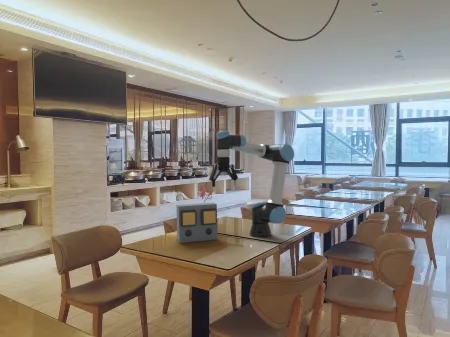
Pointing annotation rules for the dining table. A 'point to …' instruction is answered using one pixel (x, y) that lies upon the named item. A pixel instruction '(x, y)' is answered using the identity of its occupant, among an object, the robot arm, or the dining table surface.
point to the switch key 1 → (188, 218)
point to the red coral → (202, 193)
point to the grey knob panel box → (196, 223)
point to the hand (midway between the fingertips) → (224, 191)
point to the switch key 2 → (209, 216)
